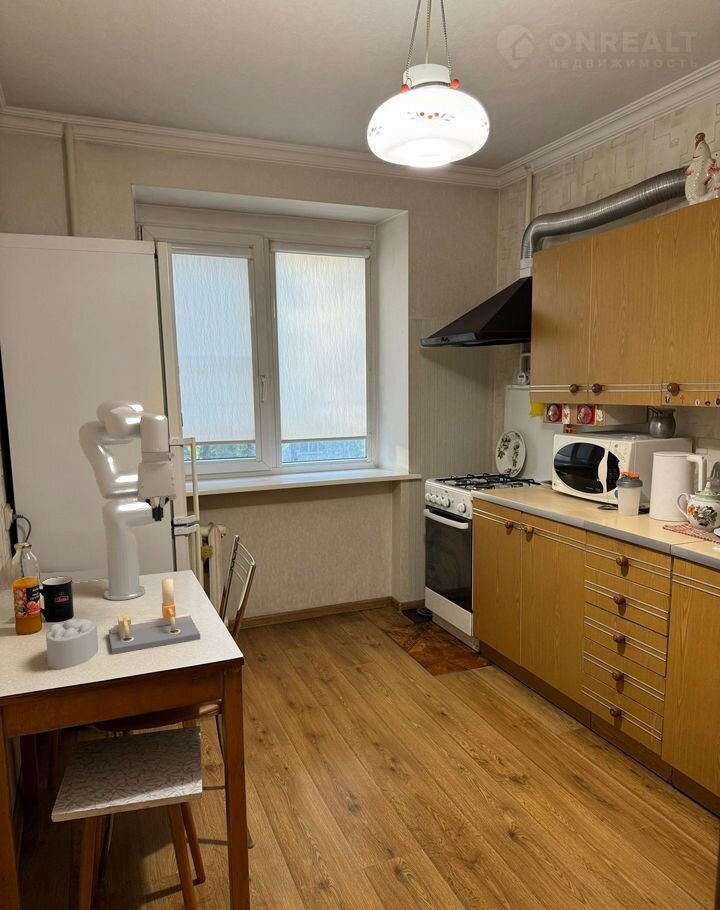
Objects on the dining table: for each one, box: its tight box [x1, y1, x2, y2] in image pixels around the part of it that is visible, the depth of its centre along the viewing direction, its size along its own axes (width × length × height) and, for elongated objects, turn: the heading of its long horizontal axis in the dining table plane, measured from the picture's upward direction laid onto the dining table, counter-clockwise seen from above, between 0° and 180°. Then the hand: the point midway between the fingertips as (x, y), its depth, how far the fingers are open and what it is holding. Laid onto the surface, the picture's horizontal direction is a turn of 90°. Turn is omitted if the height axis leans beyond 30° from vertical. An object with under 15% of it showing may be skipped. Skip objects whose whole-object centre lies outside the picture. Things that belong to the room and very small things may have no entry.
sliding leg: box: [161, 577, 177, 631], centre depth 173 cm, size 10×3×12 cm, turn 25°
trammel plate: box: [108, 613, 201, 655], centre depth 170 cm, size 14×22×5 cm, turn 115°
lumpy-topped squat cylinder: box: [45, 618, 99, 670], centre depth 157 cm, size 10×13×9 cm
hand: (158, 520), depth 181 cm, fingers closed
